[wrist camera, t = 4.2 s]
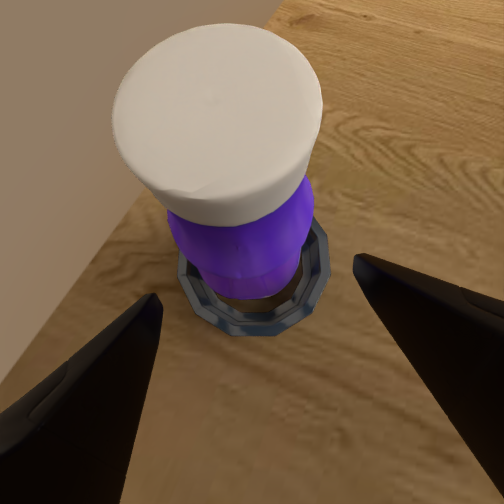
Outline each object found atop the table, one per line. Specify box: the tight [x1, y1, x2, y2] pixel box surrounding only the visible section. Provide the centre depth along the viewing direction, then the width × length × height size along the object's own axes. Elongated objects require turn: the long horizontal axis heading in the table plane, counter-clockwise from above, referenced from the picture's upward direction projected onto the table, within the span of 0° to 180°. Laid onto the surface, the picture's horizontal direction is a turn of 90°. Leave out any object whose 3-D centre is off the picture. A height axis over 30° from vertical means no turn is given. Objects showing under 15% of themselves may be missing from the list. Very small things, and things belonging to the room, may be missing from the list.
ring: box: [177, 216, 331, 336], centre depth 19 cm, size 13×13×4 cm
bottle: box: [111, 24, 323, 300], centre depth 12 cm, size 7×6×17 cm
